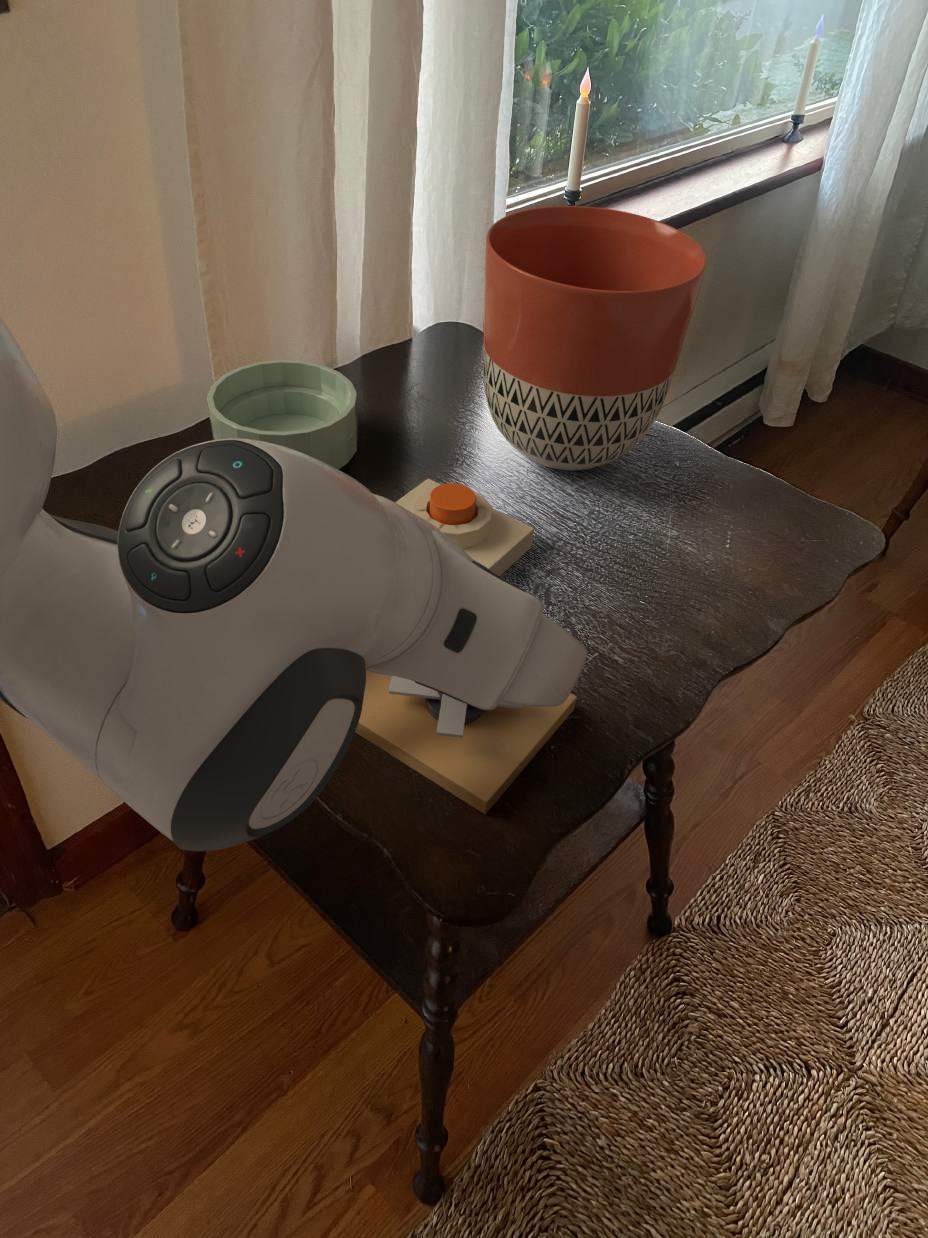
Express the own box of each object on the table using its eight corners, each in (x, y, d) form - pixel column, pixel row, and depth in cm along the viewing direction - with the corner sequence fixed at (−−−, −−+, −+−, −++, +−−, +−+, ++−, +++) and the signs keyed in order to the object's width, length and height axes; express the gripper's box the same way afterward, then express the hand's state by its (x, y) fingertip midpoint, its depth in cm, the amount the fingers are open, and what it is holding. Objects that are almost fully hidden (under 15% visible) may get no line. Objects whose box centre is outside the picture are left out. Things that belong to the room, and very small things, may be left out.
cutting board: (329, 716, 66) (328, 703, 65) (427, 628, 73) (428, 614, 72) (485, 815, 61) (487, 802, 60) (574, 709, 68) (577, 696, 67)
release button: (420, 514, 79) (420, 497, 77) (447, 493, 81) (448, 477, 80) (457, 532, 77) (458, 515, 76) (483, 510, 79) (485, 494, 78)
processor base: (367, 541, 81) (366, 505, 78) (427, 496, 87) (428, 461, 84) (475, 598, 76) (479, 562, 74) (532, 547, 82) (537, 511, 79)
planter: (446, 413, 98) (458, 210, 83) (608, 395, 103) (646, 200, 88) (506, 520, 85) (532, 300, 70) (688, 493, 90) (749, 283, 75)
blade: (379, 746, 62) (379, 622, 54) (400, 649, 69) (402, 525, 61) (516, 762, 62) (537, 640, 54) (523, 663, 69) (542, 541, 61)
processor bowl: (185, 451, 90) (175, 397, 85) (284, 397, 98) (280, 346, 94) (290, 506, 84) (285, 452, 80) (385, 443, 93) (385, 391, 89)
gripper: (212, 564, 52) (328, 598, 65) (511, 726, 45) (575, 728, 57) (257, 465, 52) (365, 519, 65) (567, 612, 44) (619, 640, 57)
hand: (466, 618), depth 61 cm, fingers open, 5 cm apart
